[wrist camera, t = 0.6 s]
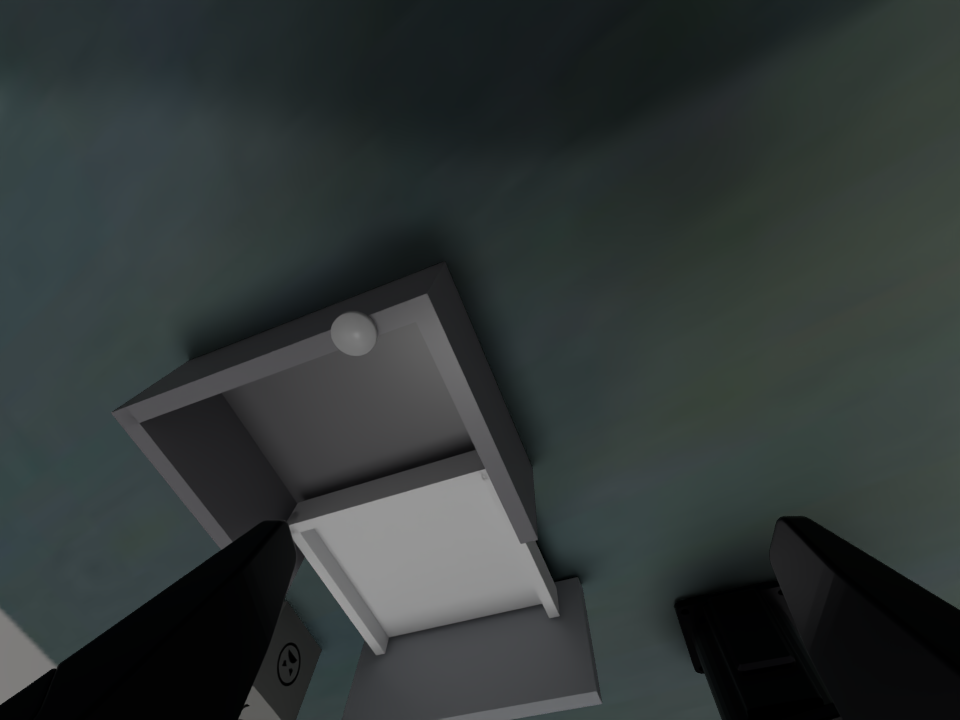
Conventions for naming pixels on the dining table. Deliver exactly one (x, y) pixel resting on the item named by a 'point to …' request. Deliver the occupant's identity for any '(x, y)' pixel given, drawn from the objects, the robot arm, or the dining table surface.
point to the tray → (447, 599)
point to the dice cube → (283, 671)
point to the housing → (332, 410)
